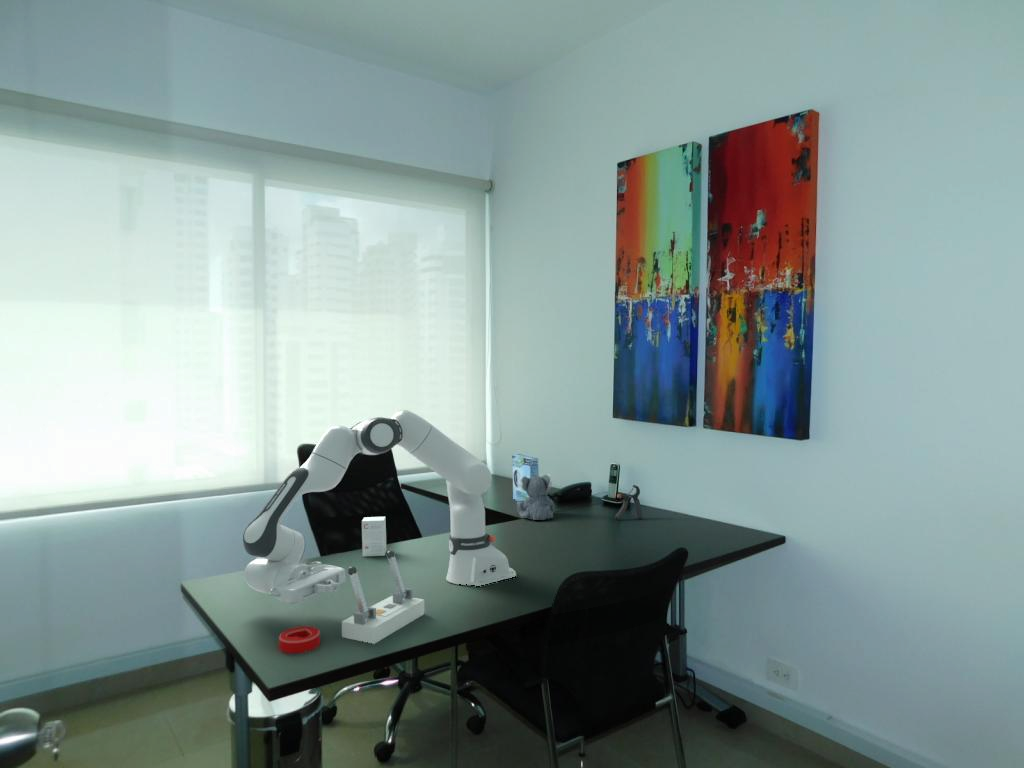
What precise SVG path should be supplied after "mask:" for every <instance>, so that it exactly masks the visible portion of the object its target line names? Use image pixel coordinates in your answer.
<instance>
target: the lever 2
mask: <svg viewBox="0 0 1024 768" xmlns="http://www.w3.org/2000/svg"><path fill="white" fill-rule="evenodd" d="M395 554H396V553H395V552H394V551H393V550H389V551H386V557H387V560H388V563H389V566H390V571H391V573H392V577H393V580H394V583H395V587H396V591H397V593H400V594H403V599H404V598H406V597H408V596H409V592H408V591H407V590H405V588H406V587H405V585H404V582H403V580H402V576H401V572H400V568H399V566H398V562H397V559H396V556H395Z"/></svg>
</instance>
